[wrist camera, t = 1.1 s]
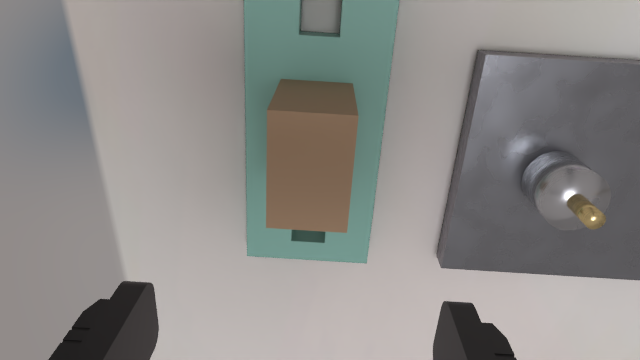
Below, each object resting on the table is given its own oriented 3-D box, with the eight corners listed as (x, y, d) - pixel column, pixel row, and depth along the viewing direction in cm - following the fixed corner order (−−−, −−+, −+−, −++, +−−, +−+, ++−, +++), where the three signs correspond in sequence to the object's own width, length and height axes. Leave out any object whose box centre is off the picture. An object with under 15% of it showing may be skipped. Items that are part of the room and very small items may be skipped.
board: (248, -44, 24) (215, -47, 17) (399, -34, 24) (426, -33, 17) (250, 243, 32) (228, 319, 25) (365, 250, 32) (374, 328, 25)
